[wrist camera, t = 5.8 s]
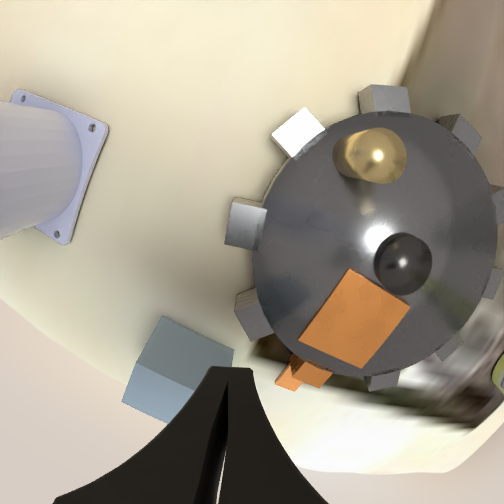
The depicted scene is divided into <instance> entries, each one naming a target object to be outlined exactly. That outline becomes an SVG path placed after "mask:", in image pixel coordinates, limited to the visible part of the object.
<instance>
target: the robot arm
mask: <svg viewBox="0 0 504 504" xmlns="http://www.w3.org/2000/svg"><path fill="white" fill-rule="evenodd" d="M25 97H26V99H25ZM24 100H25V101H24ZM94 124H95V126H96V129H95V131H94V132H92V126H93V125H94ZM107 134H108V126H107V125H106V124H105V123H103V122H101V121H99V120H96V119H94V118H91V117H89V116H87V115H84V114H82V113H80V112H77V111H75V110H72V109H70V108H67V107H65V106H62V105H60V104H57V103H55V102H52V101H50V100H47V99H45V98H42V97H40V96H37V95H34V94H32V93H29V92H26V91H24V90H20V89H17V90H16V91H15V92H14V93H13V95H12V98H11V101H10V102H4V101H0V239H3V238H5V237H8V236H10V235H12V234H15V233H17V232H20V231H22V230H25V229H28V228H30V227H33V226H34V227H35V228H37V229H38V230H40V231H41V232H43V233H44V234H46V235H47V236H49V237H50V238H52V239H53V240H55V241H56V242H58V243H59V244H61V245H66V244H68V243H69V242H70V241H71V237H72V234H73V230H74V226H75V223H76V219H77V216H78V213H79V209H80V206H81V203H82V200H83V197H84V194H85V191H86V188H87V185H88V182H89V179H90V177H91V174H92V171H93V169H94V166H95V163H96V161H97V158H98V156H99V153H100V151H101V148H102V146H103V143H104V141H105V139H106V136H107ZM57 231H58V232H59V234H60V237H59V236H58V234H57ZM226 447H227V448H226ZM225 452H226V455H225ZM224 457H225V463H224V470H223V477H222V483H221V490H220V496H219V503H218V504H328V503H327V502H326V501H325V500H324V499H323V498H322V497H321V496H320V494H319V493H318V492H317V491H316V490H315V489H314V488H313V487H312V486H311V484H310V483H309V482H308V481H307V480H306V479H305V477H304V476H303V475H302V474H301V473H300V471H299V470H298V469H297V467H296V466H295V464H294V463H293V462H292V460H291V459H290V457H289V456H288V454H287V453H286V451H285V450H284V448H283V446H282V445H281V443H280V441H279V440H278V438H277V436H276V434H275V432H274V430H273V428H272V427H271V425H270V422H269V420H268V418H267V416H266V414H265V411H264V409H263V407H262V404H261V402H260V399H259V396H258V393H257V390H256V386H255V382H254V377H253V370H251V369H250V368H240V367H222V366H211V367H210V368H209V369H208V371H207V373H206V374H205V376H204V378H203V379H202V381H201V383H200V384H199V386H198V387H197V389H196V390H195V391H194V393H193V394H192V396H191V397H190V398H189V400H188V401H187V402H186V403H185V405H184V406H183V407H182V409H181V410H180V411H179V412H178V413H177V415H176V416H175V417H174V418H173V419H172V420H171V421H170V422H169V424H168V425H167V426H166V427H165V428H164V429H163V430H162V431H161V432H160V433H159V434H158V435H157V436H156V437H155V438H154V439H153V440H152V441H151V442H149V443H148V444H147V445H146V446H145V447H144V448H142V449H141V450H140V451H139V452H137V453H136V454H135V455H133V456H132V457H131V458H130V459H128V460H127V461H126V462H124V463H123V464H121V465H120V466H119V467H117V468H115V469H114V470H112V471H110V472H109V473H107V474H105V475H103V476H102V477H100V478H99V479H97V480H95V481H93V482H91V483H89V484H87V485H85V486H83V487H80V488H78V489H76V490H74V491H71V492H69V493H67V494H64V495H62V496H59V497H57V498H56V499H55V501H54V503H53V504H216V499H217V492H218V486H219V481H220V476H221V471H222V467H223V461H224Z"/></svg>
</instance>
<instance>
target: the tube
mask: <svg viewBox="0 0 504 504" xmlns="http://www.w3.org/2000/svg"><path fill="white" fill-rule="evenodd" d="M492 381H493V383H494V384H495V385H496V386H497V387H498V389H499V390H500V391H501V392H502V393H503V394H504V354H503V355H502V356H501V358H500V359H499V361H498V362H497V364H496V366H495V368H494V371H493V374H492Z"/></svg>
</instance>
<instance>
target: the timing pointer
mask: <svg viewBox="0 0 504 504" xmlns="http://www.w3.org/2000/svg"><path fill="white" fill-rule="evenodd" d="M302 383H303V382H302V381H299V380H297V379H294V378H292V374H291V367H290V363H289V364H288V366H287V367H286V368H285V370H284V371H283V372H282V373H281V375H280V376H279V377H278V378H277V380H276V381H275V385H278V386H281V387H283V388H286V389H289V390H292V391H296V390H297V389H298V387H299V386H300V385H301V384H302Z"/></svg>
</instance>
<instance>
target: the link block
mask: <svg viewBox="0 0 504 504" xmlns="http://www.w3.org/2000/svg"><path fill="white" fill-rule="evenodd" d="M233 351H234V350H233V349H230V348H228V347H226V346H224V345H222V344H219V343H217V342H215V341H213V340H211V339H209V338H206V337H204V336H202V335H200V334H198V333H196V332H194V331H192V330H190V329H188V328H186V327H184V326H182V325H180V324H178V323H176V322H174V321H172V320H170V319H168V318H166V317H164V316H162V318H161V320H160V322H159V323H158V325H157V327H156V328H155V330H154V332H153V334H152V335H151V337H150V339H149V341H148V342H147V344H146V346H145V348H144V349H143V351H142V353H141V355H140V356H139V358H138V360H137V362H136V364H135V367H134V369H133V372H132V374H131V377H130V380H129V382H128V385H127V388H126V391H125V393H124V396H123V399H122V402H123V403H125V404H127V405H129V406H131V407H133V408H135V409H137V410H139V411H141V412H143V413H145V414H148V415H150V416H152V417H154V418H156V419H159V420H161V421H163V422H165V423H168V424H169V422H170V421H171V420H172V419H173V418H174V417H175V416H176V415H177V413H178V412H179V411H180V410H181V409H182V407H183V406H184V405H185V403H186V402H187V401H188V400H189V398H190V397H191V396H192V394H193V393H194V391H195V390H196V389H197V387H198V386H199V384H200V383H201V381H202V379H203V378H204V376H205V374H206V373H207V371H208V369H209V368H210V367H211V366H222V367H232V359H233Z"/></svg>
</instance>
